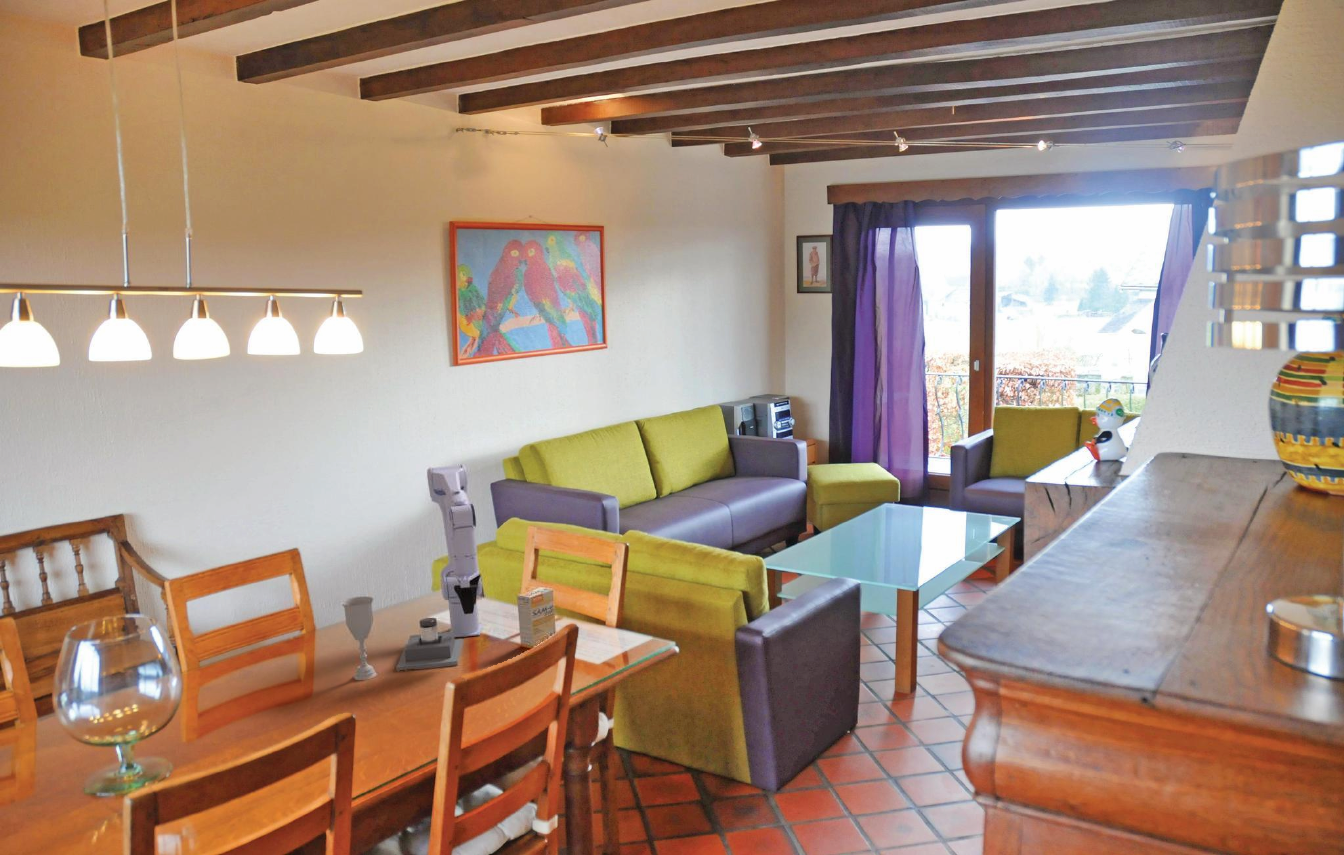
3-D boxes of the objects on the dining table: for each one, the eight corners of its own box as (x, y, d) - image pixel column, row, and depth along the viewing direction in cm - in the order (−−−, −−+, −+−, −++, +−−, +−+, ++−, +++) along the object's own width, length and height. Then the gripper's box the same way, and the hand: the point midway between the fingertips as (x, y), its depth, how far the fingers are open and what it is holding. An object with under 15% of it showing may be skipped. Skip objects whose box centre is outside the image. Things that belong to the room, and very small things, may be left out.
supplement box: (534, 649, 245) (529, 597, 243) (520, 646, 248) (515, 594, 246) (557, 639, 251) (553, 588, 250) (543, 636, 254) (539, 585, 253)
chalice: (342, 679, 233) (334, 603, 231) (364, 668, 239) (356, 595, 237) (366, 683, 230) (358, 606, 227) (387, 672, 236) (380, 598, 233)
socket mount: (406, 648, 252) (404, 632, 251) (463, 642, 253) (461, 627, 253) (396, 671, 236) (395, 654, 236) (457, 665, 238) (456, 648, 237)
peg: (424, 650, 246) (421, 618, 245) (440, 648, 247) (437, 617, 246) (421, 655, 243) (418, 623, 242) (438, 654, 243) (434, 622, 242)
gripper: (451, 549, 251) (456, 602, 253) (445, 563, 237) (450, 619, 238) (479, 546, 252) (484, 599, 254) (475, 560, 238) (480, 616, 239)
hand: (470, 608), depth 246 cm, fingers open, 7 cm apart
